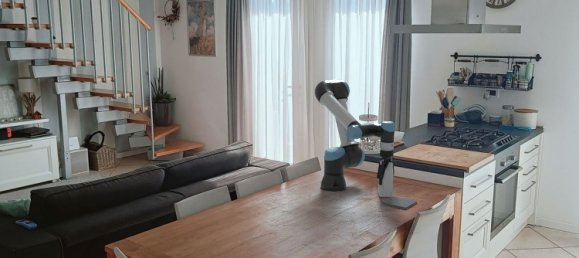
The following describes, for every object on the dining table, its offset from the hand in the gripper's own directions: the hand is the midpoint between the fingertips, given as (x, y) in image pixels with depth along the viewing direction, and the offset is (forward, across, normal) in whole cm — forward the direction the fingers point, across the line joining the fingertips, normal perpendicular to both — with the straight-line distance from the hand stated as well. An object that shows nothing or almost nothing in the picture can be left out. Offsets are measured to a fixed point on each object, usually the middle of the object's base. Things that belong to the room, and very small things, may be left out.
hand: (385, 188), depth 294 cm
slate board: (+4, -9, -13) cm, 16 cm away
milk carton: (+4, 0, 0) cm, 4 cm away
